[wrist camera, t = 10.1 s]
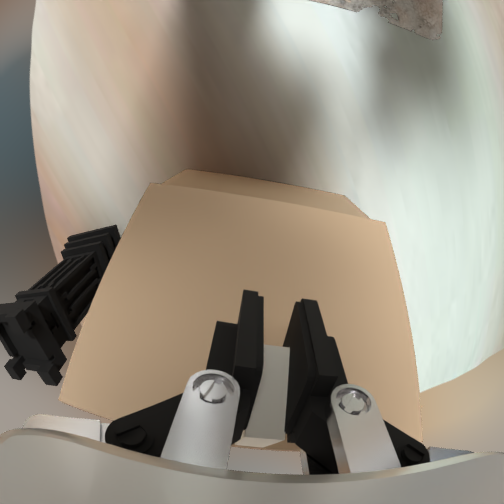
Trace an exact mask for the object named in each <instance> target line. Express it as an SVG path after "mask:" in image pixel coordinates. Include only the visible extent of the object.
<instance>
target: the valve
mask: <svg viewBox="0 0 504 504" xmlns="http://www.w3.org/2000/svg"><path fill="white" fill-rule="evenodd" d="M311 1H316V2H320V3H325V4H329V5H333V6H337V7H341V8H345V9H348V10H352V11H355V12H359V11H360V10H362V7H363V8H366V7H372V5H375V6H378V7H379V8H380V9H379V12H378V14H379V15H380V16H381V17H385V18H387V19H388V20H389V22H388V23H391V24H394V25H396V26H399V27H401V28H404V29H407V30H409V31H412V30H414V31H415V33H416V34H418V35H421V36H423V37H425V38H429V39H431V40H434V39H439V38H441V37H440V35H439V37H437V34H441V33H442V6H443V3H442V0H311ZM393 1H394V2H393ZM380 6H382V7H380ZM384 6H386V7H387V8H385V7H384ZM391 13H392V14H393V13H396V14H397V15H398V20H396V19H394V18H393V17H392V16H391V15H390V14H391ZM389 16H391V17H389Z"/></svg>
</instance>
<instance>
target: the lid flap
mask: <svg viewBox="0 0 504 504" xmlns="http://www.w3.org/2000/svg"><path fill="white" fill-rule="evenodd" d="M244 289H245V290H251V291H257V292H258V296H263V297H264V365H263V373H262V377H261V381H260V385H259V388H258V392H257V395H256V399H255V402H254V406H253V409H252V412H251V416H250V419H249V423H248V426H247V429H246V430H243V432H242V436H241V439H240V440H239V441H237V442H236V443H234V444H232V445H231V446H233V447H240V448H250V449H261V450H276V451H300V450H301V448H299V447H298V446H297V445H296V444H295V443H287V434H285V432H284V429H285V417H286V403H287V389H288V373H289V356H290V347H283V343H284V340H285V336H286V333H287V329H288V326H289V322H290V319H291V315H292V312H293V308H294V305H295V302H296V301H297V302H300V301H301V299H302V298H303V299H310V300H317V302H318V305H319V308H320V312H321V315H322V319H323V322H324V326H325V329H326V333H327V336H332V337H334V338H335V341H336V344H337V347H338V351H339V354H340V357H341V361H342V364H343V368H344V371H345V374H346V378H347V381H348V384H354V385H357V386H360V387H362V388H364V389H366V390H367V391H368V392H369V393H371V394H372V396H373V397H374V399H375V401H376V404H377V406H378V408H379V411H380V413H381V416H382V418H383V420H385V421H387V422H388V423H390V424H391V425H393V426H395V427H396V428H398V429H399V430H401V431H403V432H404V433H406V434H407V435H409V436H411V437H412V438H414V439H416V440H417V441H419V442H420V443H421V442H423V436H422V417H421V403H420V392H419V383H418V374H417V366H416V359H415V352H414V345H413V339H412V333H411V327H410V322H409V317H408V311H407V306H406V302H405V297H404V292H403V288H402V283H401V279H400V275H399V271H398V267H397V263H396V259H395V255H394V251H393V248H392V244H391V240H390V237H389V233H388V230H387V226H386V223H385V222H381V221H377V220H372V219H367V218H363V217H358V216H353V215H348V214H344V213H339V212H334V211H329V210H323V209H318V208H313V207H308V206H302V205H297V204H291V203H286V202H280V201H274V200H268V199H262V198H256V197H250V196H244V195H237V194H231V193H224V192H217V191H210V190H203V189H196V188H189V187H181V186H173V185H165V184H157V183H150V184H149V186H148V188H147V190H146V191H145V193H144V195H143V197H142V199H141V200H140V202H139V204H138V206H137V208H136V210H135V212H134V213H133V215H132V217H131V219H130V221H129V223H128V225H127V227H126V229H125V231H124V233H123V235H122V237H121V239H120V241H119V243H118V245H117V247H116V249H115V251H114V253H113V256H112V258H111V260H110V262H109V264H108V266H107V269H106V271H105V273H104V275H103V278H102V280H101V282H100V284H99V287H98V289H97V291H96V294H95V296H94V299H93V301H92V303H91V306H90V308H89V311H88V313H87V316H86V319H85V321H84V324H83V326H82V329H81V332H80V334H79V337H78V340H77V343H76V346H75V348H74V352H73V354H72V357H71V360H70V363H69V366H68V370H67V373H66V376H65V379H64V382H63V386H62V389H61V392H60V396H59V399H58V400H59V401H61V402H62V403H64V404H67V405H69V406H72V407H75V408H77V409H80V410H83V411H85V412H88V413H91V414H94V415H97V416H100V417H103V418H106V419H109V420H112V421H115V420H116V419H118V418H121V417H123V416H126V415H129V414H131V413H134V412H137V411H139V410H142V409H145V408H147V407H150V406H152V405H155V404H157V403H160V402H162V401H165V400H167V399H169V398H172V397H174V396H177V395H179V394H181V393H184V390H185V387H186V384H187V382H188V380H189V379H190V377H191V376H192V375H194V374H195V373H197V372H199V371H202V370H206V366H207V362H208V357H209V353H210V348H211V344H212V339H213V335H214V331H215V326H216V322H217V321H222V322H228V323H234V324H237V323H238V317H239V312H240V306H241V300H242V295H243V290H244Z"/></svg>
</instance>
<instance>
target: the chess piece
mask: <svg viewBox="0 0 504 504" xmlns="http://www.w3.org/2000/svg"><path fill="white" fill-rule="evenodd" d="M67 239H68V242H67V243H66V244H64V246H65V249H64V250H63V251H61V254H62V257H63V259H64V260H63V261H61V262H60V263H59V264H58V265H57V266H55V267H54V268H53V269H52V270H51V271H49V272H48V273H47V274H46V275H45V276H44V277H42V278H41V279H40V280H39V281H38V282H37V283H36V284H34V285H33V286H32V287H31V288H30V289H29V290H28V291H21V292H18V293H17V294H16V295H15V296H16V299H17V301H16V302H15V303H6V304H0V340H1V342H2V344H3V345H4V347H5V349H6V350H7V352H8V354H9V355H10V356H12V357H13V359H10V360H9V361H8V362H7V363H6V365H5V366H4V367H5V368H6V370H7V371H8V373H9V374H10V376H11V377H12V378H13V379H17V380H21V379H22V378H23V377H24V375H25V374H26V371H25V370H24V369H25V368H26V369H27V370H32V371H37V373H38V374H39V375H40V377H41V378H42V380H43V381H44V382H45V384H46V385H53V386H57V385H58V384H59V382H60V380H61V379H62V375H61V374H60V372H59V371H60V369H61V368H62V366H63V365H64V363H65V362H66V360H67V359H66V357H65V355H64V354H63V352H62V350H61V347H62V346H63V344H64V343H65V342H66V341H73V340H74V339H75V337H76V334H75V332H74V330H75V328H76V327H77V326H78V324H79V323H80V322H81V321H82V319H83V318H84V317H85V315H86V314H87V313H88V311H89V308H90V306H91V303H92V301H93V299H94V296H95V294H96V291H97V289H98V287H99V284H100V282H101V280H102V278H103V275H104V273H105V271H106V269H107V266H108V264H109V262H110V260H111V258H112V256H113V253H114V251H115V249H116V247H117V245H118V243H119V241H120V239H121V238H120V235H119V232H118V229H117V225H113V226H109V227H105V228H100V229H96V230H92V231H88V232H84V233H80V234H76V235H72V236H69V237H68V238H67Z"/></svg>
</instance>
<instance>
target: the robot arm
mask: <svg viewBox="0 0 504 504" xmlns="http://www.w3.org/2000/svg"><path fill="white" fill-rule="evenodd" d="M283 347H290V356H289V373H288V389H287V403H286V417H285V429H284V432H285V434H287V443H295V444H296V445H297V446H298V447H299V448H301V450H300V458H301V465H302V471H303V475H288V474H266V473H253V472H242V471H233V470H227V465H228V460H229V454H230V448H231V445H232V444H234V443H236V442H237V441H239V440H240V439H241V436H242V432H243V430H246V429H247V426H248V423H249V419H250V416H251V412H252V409H253V406H254V402H255V399H256V395H257V392H258V388H259V385H260V381H261V377H262V373H263V365H264V297H263V296H258V292H257V291H251V290H245V289H244V290H243V295H242V300H241V306H240V312H239V317H238V323H237V324H234V323H228V322H222V321H217V322H216V326H215V331H214V335H213V339H212V344H211V348H210V353H209V357H208V362H207V366H206V370H202V371H199V372H197V373H195V374H194V375H192V376H191V377H190V379H189V380H188V382H187V384H186V387H185V390H184V393H181V394H179V395H177V396H174V397H172V398H169V399H167V400H165V401H162V402H160V403H157V404H155V405H152V406H150V407H147V408H145V409H142V410H139V411H137V412H134V413H131V414H129V415H126V416H123V417H121V418H118V419H116V420H115V421H113V422H112V423H111V424H105V423H101V421H100V420H93V419H80V418H70V417H61V416H53V415H46V414H36V415H33V416H31V417H29V418H28V419H27V420H26V421H25V422H24V425H23V427H22V428H17V429H12V430H9V431H6V432H4V433H2V434H1V435H0V504H504V453H503V452H479V453H474V452H471V451H464V450H455V449H446V448H437V447H429V448H428V449H426V448H425V446H424V445H423V444H422V443H420V442H419V441H417V440H416V439H414V438H412V437H411V436H409V435H407V434H406V433H404V432H403V431H401V430H399V429H398V428H396V427H395V426H393V425H391V424H390V423H388V422H387V421H385V420H383V418H382V416H381V413H380V411H379V408H378V406H377V404H376V401H375V399H374V397H373V396H372V394H371V393H369V392H368V391H367V390H366V389H364V388H362V387H360V386H357V385H354V384H348V381H347V378H346V374H345V371H344V368H343V364H342V361H341V357H340V354H339V351H338V347H337V344H336V341H335V338H334V337H332V336H327V333H326V329H325V326H324V322H323V319H322V315H321V312H320V308H319V305H318V302H317V300H310V299H303V298H302V299H301V301H300V302H297V301H296V302H295V305H294V308H293V312H292V315H291V319H290V322H289V326H288V329H287V333H286V336H285V340H284V343H283Z"/></svg>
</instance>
